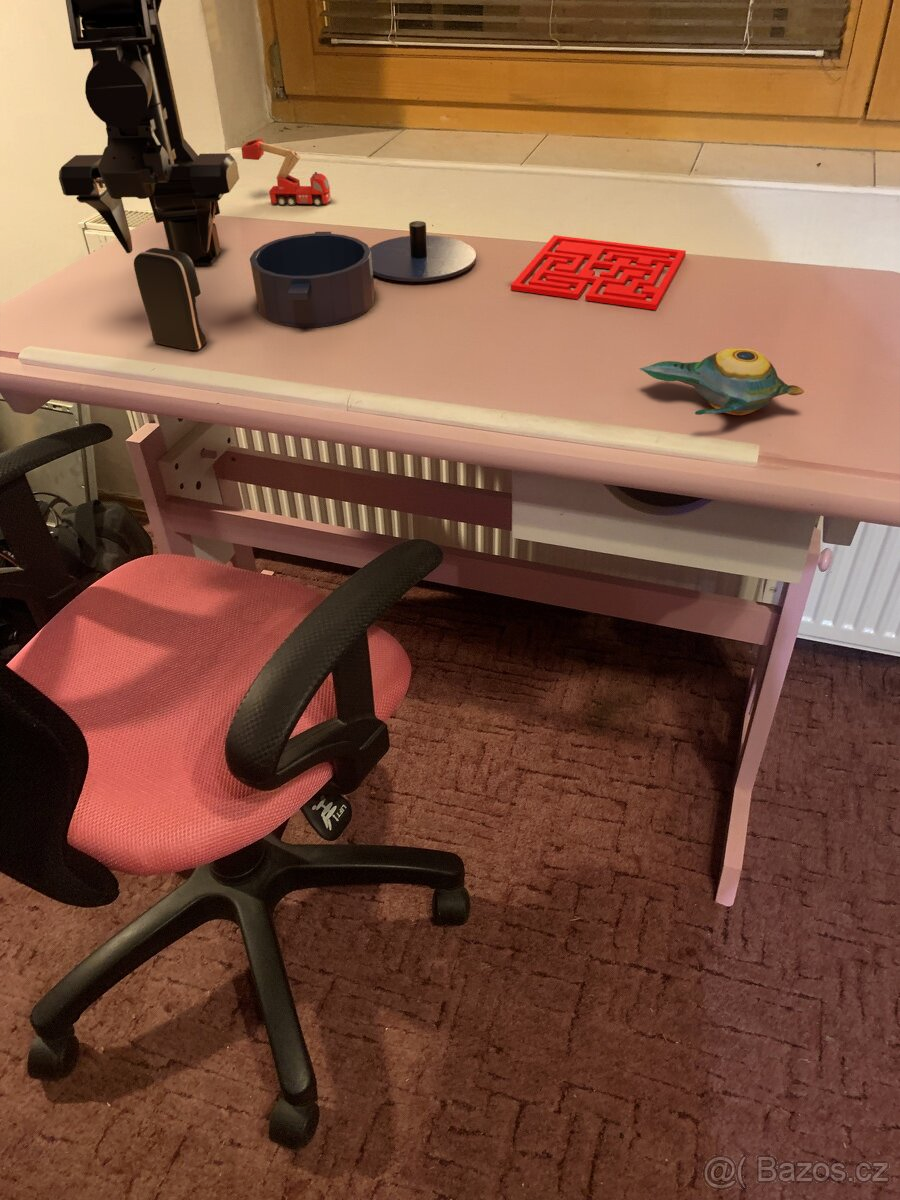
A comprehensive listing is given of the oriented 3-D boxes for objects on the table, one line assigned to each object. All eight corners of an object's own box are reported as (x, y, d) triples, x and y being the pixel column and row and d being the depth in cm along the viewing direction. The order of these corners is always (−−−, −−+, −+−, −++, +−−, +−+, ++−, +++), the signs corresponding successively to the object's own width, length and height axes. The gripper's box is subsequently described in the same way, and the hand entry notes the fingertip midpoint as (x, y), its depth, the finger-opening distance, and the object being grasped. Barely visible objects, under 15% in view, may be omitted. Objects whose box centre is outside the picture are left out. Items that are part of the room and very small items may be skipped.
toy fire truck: (329, 206, 149) (322, 144, 142) (249, 205, 150) (239, 143, 143) (333, 200, 151) (326, 138, 145) (255, 199, 152) (245, 138, 146)
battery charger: (215, 340, 111) (196, 249, 104) (197, 353, 109) (176, 260, 101) (170, 331, 114) (148, 241, 106) (151, 344, 111) (127, 252, 103)
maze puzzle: (510, 289, 121) (510, 284, 120) (553, 239, 134) (553, 235, 134) (655, 309, 115) (656, 304, 114) (685, 255, 129) (685, 250, 128)
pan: (242, 337, 112) (233, 287, 108) (275, 272, 128) (267, 226, 123) (364, 337, 111) (359, 286, 107) (382, 272, 127) (378, 226, 122)
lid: (355, 286, 123) (352, 245, 120) (369, 242, 136) (366, 204, 132) (474, 285, 122) (474, 244, 119) (477, 242, 135) (477, 203, 131)
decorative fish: (729, 368, 103) (740, 319, 99) (799, 417, 94) (813, 366, 90) (634, 391, 99) (640, 341, 95) (696, 444, 91) (706, 392, 87)
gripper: (16, 125, 88) (65, 279, 99) (200, 122, 87) (230, 278, 98) (58, 98, 96) (99, 242, 107) (226, 95, 96) (251, 241, 106)
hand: (168, 251), depth 104 cm, fingers open, 9 cm apart
